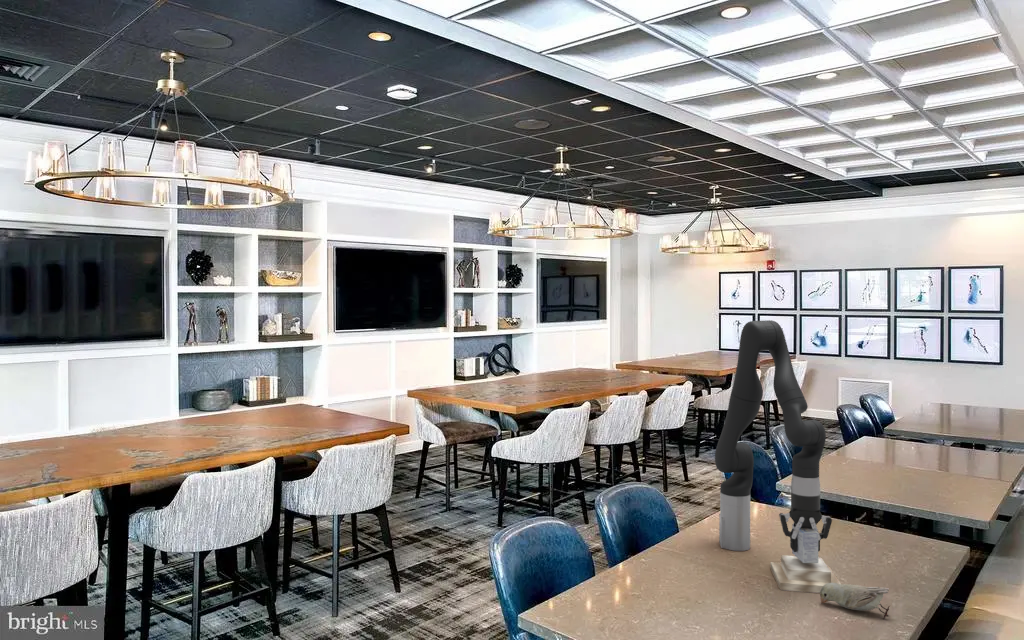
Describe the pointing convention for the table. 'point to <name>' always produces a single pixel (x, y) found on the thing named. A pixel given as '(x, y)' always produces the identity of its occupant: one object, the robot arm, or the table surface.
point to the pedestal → (802, 574)
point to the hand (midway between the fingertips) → (805, 551)
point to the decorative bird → (854, 596)
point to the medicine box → (807, 545)
